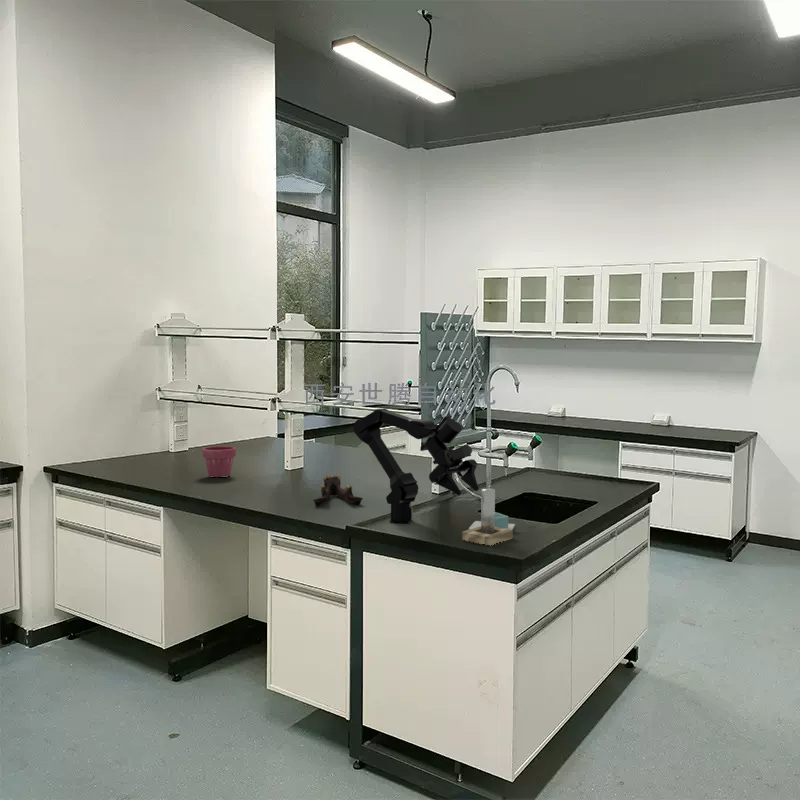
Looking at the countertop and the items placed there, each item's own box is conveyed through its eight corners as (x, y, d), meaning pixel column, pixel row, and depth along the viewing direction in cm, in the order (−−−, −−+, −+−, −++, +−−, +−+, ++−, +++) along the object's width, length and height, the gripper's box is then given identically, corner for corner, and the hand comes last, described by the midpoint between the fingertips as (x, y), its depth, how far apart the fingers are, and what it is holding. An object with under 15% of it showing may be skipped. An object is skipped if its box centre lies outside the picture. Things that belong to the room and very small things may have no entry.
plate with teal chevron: (468, 530, 229) (468, 517, 229) (475, 522, 240) (475, 510, 239) (510, 533, 225) (510, 520, 225) (514, 525, 236) (515, 513, 236)
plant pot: (215, 473, 331) (215, 445, 330) (242, 475, 326) (242, 446, 325) (196, 478, 318) (195, 448, 317) (223, 480, 313) (223, 450, 312)
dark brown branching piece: (364, 501, 286) (369, 476, 285) (358, 519, 262) (363, 493, 260) (320, 491, 286) (325, 467, 285) (310, 509, 262) (316, 483, 261)
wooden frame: (462, 540, 218) (462, 531, 217) (484, 532, 227) (485, 524, 227) (490, 546, 211) (490, 537, 211) (512, 538, 220) (512, 530, 220)
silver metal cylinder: (480, 540, 217) (481, 490, 216) (481, 537, 221) (481, 488, 220) (494, 541, 217) (494, 491, 216) (494, 537, 221) (495, 488, 220)
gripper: (437, 438, 218) (466, 480, 211) (473, 433, 232) (502, 472, 226) (416, 462, 224) (444, 503, 217) (452, 456, 238) (480, 494, 231)
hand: (469, 492), depth 223 cm, fingers open, 9 cm apart
